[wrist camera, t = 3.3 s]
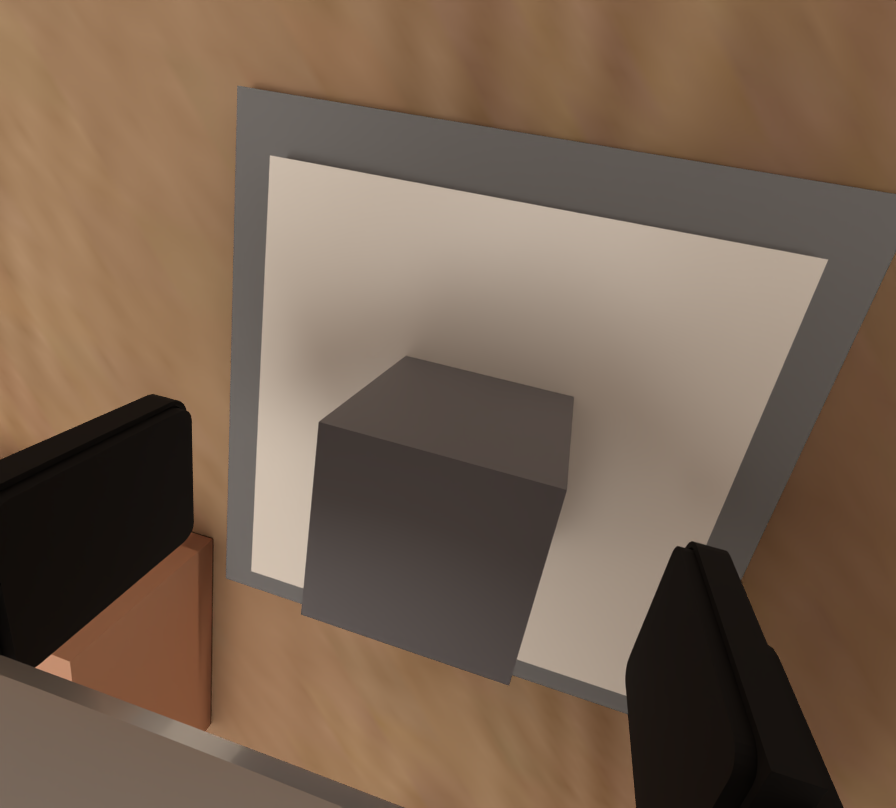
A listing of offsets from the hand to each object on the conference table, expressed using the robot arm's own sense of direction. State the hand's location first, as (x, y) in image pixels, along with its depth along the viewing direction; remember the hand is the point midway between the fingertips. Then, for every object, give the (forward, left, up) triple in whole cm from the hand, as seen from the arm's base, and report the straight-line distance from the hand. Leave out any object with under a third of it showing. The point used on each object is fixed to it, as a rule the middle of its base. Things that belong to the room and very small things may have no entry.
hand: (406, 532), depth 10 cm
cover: (0, 0, -6) cm, 6 cm away
